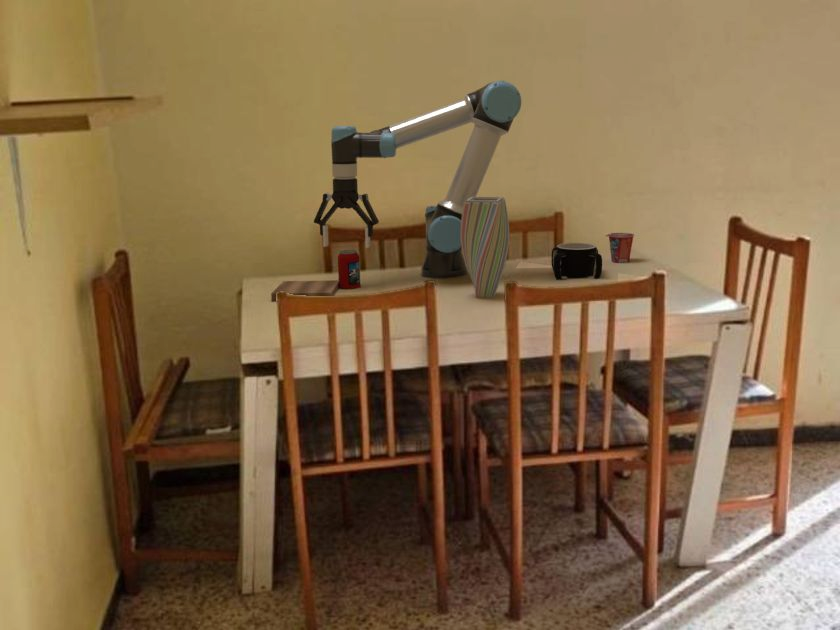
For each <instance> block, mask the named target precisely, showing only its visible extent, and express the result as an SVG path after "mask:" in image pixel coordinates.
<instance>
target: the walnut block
mask: <svg viewBox="0 0 840 630" xmlns="http://www.w3.org/2000/svg"><path fill="white" fill-rule="evenodd" d="M339 289H340V288H339V279H337V280H336V279H335V280H332V279H331V280H283V281H282V282H281V283H280V284H279V285H277V287H276V288H274V290H273V291H271V293H270V296H271V297H270V298H271V302H274V303H275V302H277V301H276V293H277V292H280V291H284V292H287V293H289V294H293V295H306V296H333V295H334V296H335V294H336V293H337V291H338V290H339ZM334 296H333V297H334Z"/></svg>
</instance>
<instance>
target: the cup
mask: <svg viewBox="0 0 840 630" xmlns="http://www.w3.org/2000/svg"><path fill="white" fill-rule="evenodd" d="M605 237H608V239H609V249H610V259H611V262H612V263H613V264H625V263H629V262H630V258H631V253H632V245H633V241H634V237H635V234H634V233H631V232H612V233H608V234H606V235H605Z"/></svg>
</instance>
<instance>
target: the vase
mask: <svg viewBox="0 0 840 630" xmlns="http://www.w3.org/2000/svg"><path fill="white" fill-rule="evenodd" d="M506 203H507V201H506V199H505V198H504V197H503V196H476V197H471V198H469V199H468V200H466V201H465V202H464V205H463V211H462V219H461V234H460V235H461V245H462V254H463V257H464V260H465V263H466V266H467V272H468V274H469V276H470V279H471V283H472V285H473V289H474V293H475V295H474V296H475V298H476V299H477V298H480V299H481V298H482V299H483V298H495V297H496V295H497V291H498V288H499V285H500V283H501V280H502V276H503V273H504V269H505V266H506V264H507V263H506V262H507V258H508V252H509V245H510V244H509V243H510V223H509V216H508V215H509V213H508V207H507V204H506Z"/></svg>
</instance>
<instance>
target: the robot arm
mask: <svg viewBox="0 0 840 630" xmlns="http://www.w3.org/2000/svg"><path fill="white" fill-rule="evenodd" d="M521 107H522V96H521V93H520V91H519V90H518V89H517V87H516V86H515V85H514V84H512V83H511V82H509V81H505V80H496V81H492V82H490V83H489V82H488V84H485V85H483V86H482V87H481V88H479V89H476V90H475V91H472V92H470V93H466V94H465V96H464V98H463V99H460V100H457V101H454V102H451V103H449V104H445V105H443V106H440V107H438V108H435V109H431V110H429V111H426V112H424V113H420V114H417V115H415V116H413V117H410V118H406V119H404V120H401V121H399V122H396V123H392V124H391V125H388V126H385V127H382V128H379V129H375V130H372V131H370V132H359V131H357V128H356V126H355V125H354V126H353V125H338V126H336V125H335V126H334V127H332V129H331V142H330V143H331V147H330V148H331V163H332V164H331V165H332V166H331V168H332V169H331V170H332V171H331V172H332V177H333V179H332V193H329V192H325V193H323V195H322V201H321V204H320V205H319V208H318V211H317V212H316V215H315V217H314V219H313V223H314V224H318V225H319V234H320V236H322V240H323V243H322V244H323V245H322V246H323V248H326V247H329V224H327V222H328V221H329V220H330V218H331V217H332V216H333V215H334V213H335V212H336V211H337V210H338V208H339V209H340V210H342V209H349V210H351V209H352V210H353V211H355V212H356V213H357V215H358V216H359V217H360V218H361V220H362V221H363V222H364V224H366V226H365V227H364V234H365V235H364V240H365V241H364V242H365V248H366V249H369V248H370V247H371V238H372V237H373V236H374V226H376V225H377V224H380V220H379V219H378V216H377V214H376V213H375V211H374V209H373V207H372V205H371V204H372V203H371V202H370V201H369V194H367V193H364V194H363V193H362V194H359V193H358V187H359V186H358V179H357V178H356V177H358V159H359V158H360V159H362V158H365V159H367V158H370V159H371V158H372V159H375V158H376V159H378V158H379V159H381V158H382V159H386V158H395V157H396V155H397V149H400V148H403V147H405V146H407V145H411V144H414V143H417V142H418V141H422V140H425V139H428V138H431V137H433V136H436V135H439V134H442V133H445V132H447V131H450V130H454V129H457V128H459V127H462V126H465V125H468V124H471V123H472V124H473V125H474V127H473V129H472V132H471V134H470V136H469V139H468V141H467V144H466V146H465V149H464V151H463V154H462V156H461V159H460V162H459V164H458V166H457V169H456V171H455V173H454V176H453V178H452V181H451V183H450V186H449V188H448V191H447V193H446V196H445V198H444V199H442V200H440V201H438V202H437V205H429V206H427V207H426V208H425V213H424V217H425V248H426V249H425V250H426V251H425V256H424V260H423V262H422V267H421V276H422V277H424V278H427V279H453V278H458V277H463V276H466V275H467V274H468V268H467V265H466V262H465V259H464V255H463V251H462V245H461V235H460V234H461V219H462V211H463V205H464V202H465V201H466V200H468V199H469V198H471V197H478V196H477V195H478V193H479V190H480V188H481V186H482V183H483V181H484V178H485V176H486V174H487V172H488V169H489V166H490V164H491V162H492V159H493V157H494V154H495V151H496V150H497V147H498V145H499V142H500V141H501V140H500V139H501V138H502V136H504V135H506V134H508V133H509V131H510V128H511V126H512V124H513V122H514V119H515V118H516V117H517V116H518V114H519V113H520V111H521ZM331 199H332V201H333V202H334V203H333V205H332V206H331V207H330V209H329V210H328V211H327V212H326V213H325V210H326V208H327V206H328V203H329V201H331ZM359 200H360V201H361V202H362V204H363V206H364V208H365V210H366V212H367V213H366V212H365V211H364V210H363V209H362V207H361V205H360V204H359V203H358V201H359ZM324 213H325V215H324ZM367 214H368V215H367ZM323 215H324V216H323Z"/></svg>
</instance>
